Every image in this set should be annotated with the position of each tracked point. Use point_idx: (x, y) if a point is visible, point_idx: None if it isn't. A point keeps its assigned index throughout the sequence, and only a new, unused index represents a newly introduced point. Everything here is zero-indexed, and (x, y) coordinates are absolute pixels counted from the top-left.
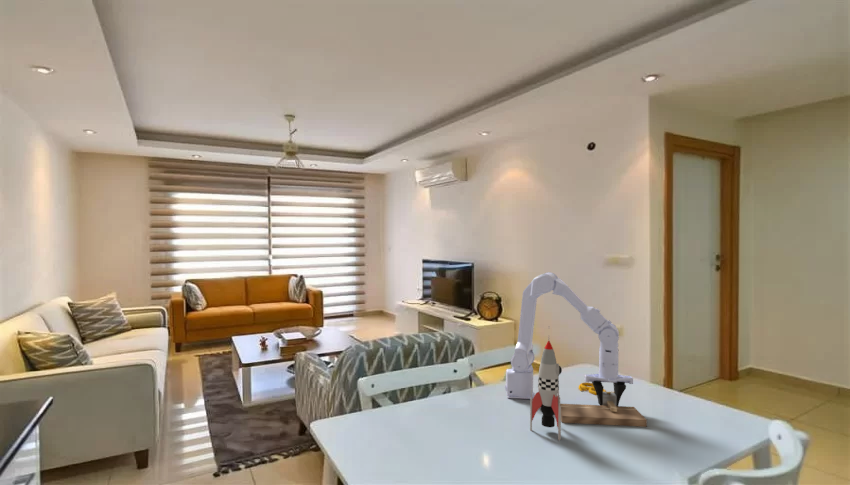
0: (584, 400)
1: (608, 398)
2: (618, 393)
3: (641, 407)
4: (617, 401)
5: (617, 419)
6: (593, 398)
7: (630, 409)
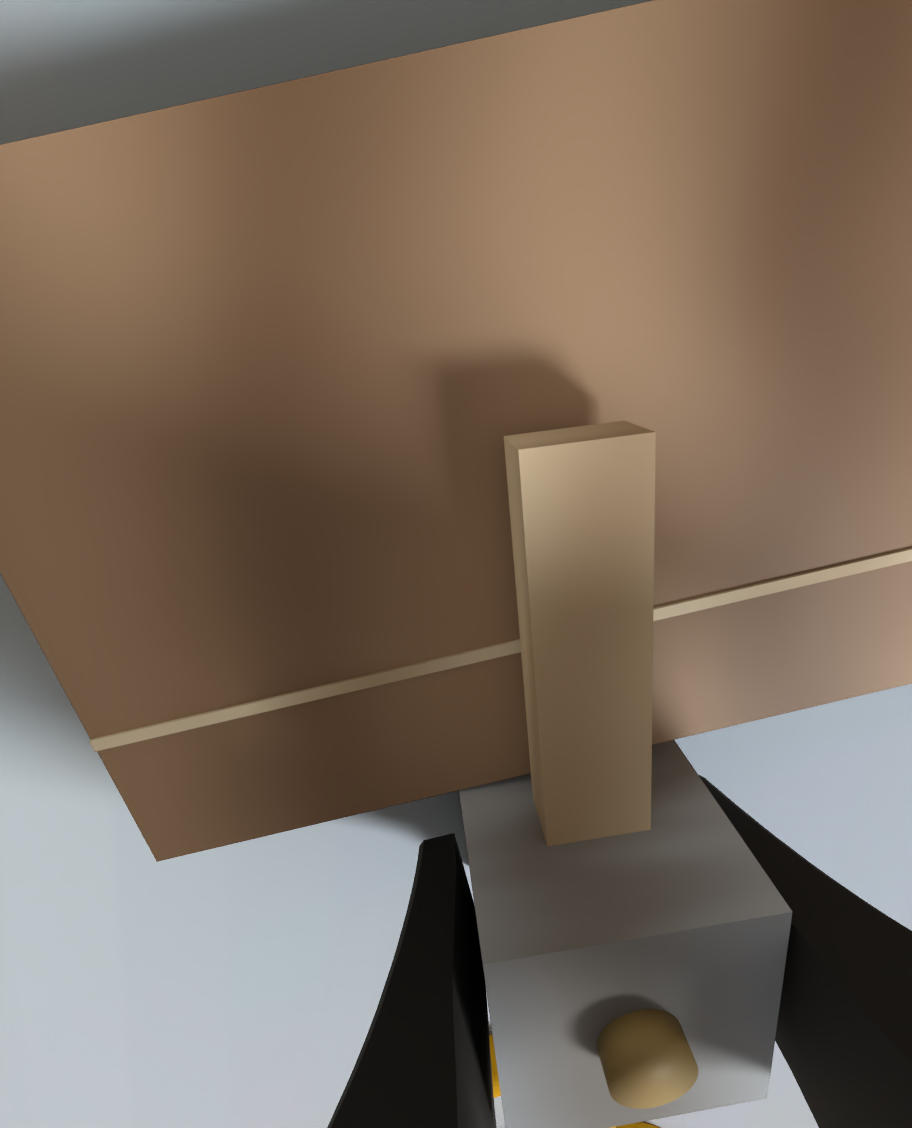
0: None
1: (646, 878)
2: (438, 1081)
3: (99, 996)
4: (441, 898)
5: (528, 44)
6: None
7: (214, 718)
